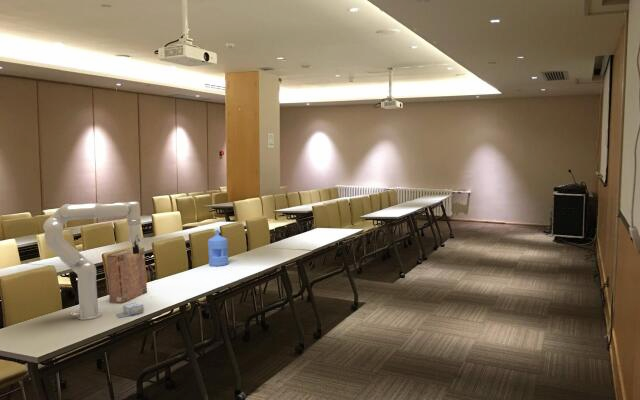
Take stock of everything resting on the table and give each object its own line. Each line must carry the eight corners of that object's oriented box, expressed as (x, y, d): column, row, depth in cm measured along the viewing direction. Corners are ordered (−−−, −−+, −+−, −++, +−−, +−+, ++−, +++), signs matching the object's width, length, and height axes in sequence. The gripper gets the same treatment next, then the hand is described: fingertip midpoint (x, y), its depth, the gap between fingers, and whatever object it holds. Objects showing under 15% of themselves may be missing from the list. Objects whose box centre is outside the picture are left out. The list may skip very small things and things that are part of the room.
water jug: (205, 264, 424) (203, 230, 421) (221, 261, 434) (220, 228, 432) (215, 267, 412) (213, 232, 410) (232, 264, 423) (230, 230, 420)
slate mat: (118, 318, 288) (118, 317, 288) (115, 314, 294) (115, 314, 294) (140, 314, 294) (140, 313, 294) (137, 310, 301) (137, 310, 301)
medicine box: (135, 302, 302) (143, 304, 296) (135, 309, 302) (144, 312, 297) (122, 305, 296) (130, 307, 290) (123, 313, 296) (131, 315, 291)
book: (135, 292, 344) (132, 247, 341) (147, 292, 341) (144, 247, 339) (109, 302, 320) (106, 254, 317) (122, 303, 317) (119, 255, 315)
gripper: (124, 222, 309) (126, 252, 310) (130, 224, 296) (132, 256, 298) (137, 220, 313) (139, 250, 314) (143, 223, 300) (145, 254, 302)
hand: (136, 253), depth 306 cm, fingers closed
